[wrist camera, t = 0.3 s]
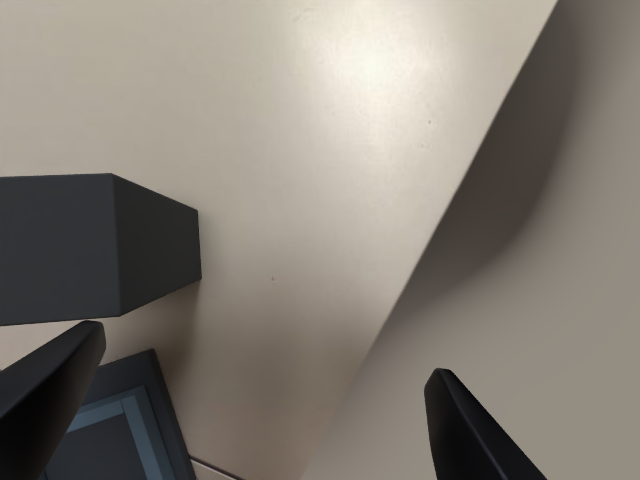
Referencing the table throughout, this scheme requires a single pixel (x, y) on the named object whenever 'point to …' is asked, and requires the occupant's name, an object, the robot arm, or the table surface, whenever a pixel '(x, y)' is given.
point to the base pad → (123, 428)
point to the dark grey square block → (90, 247)
